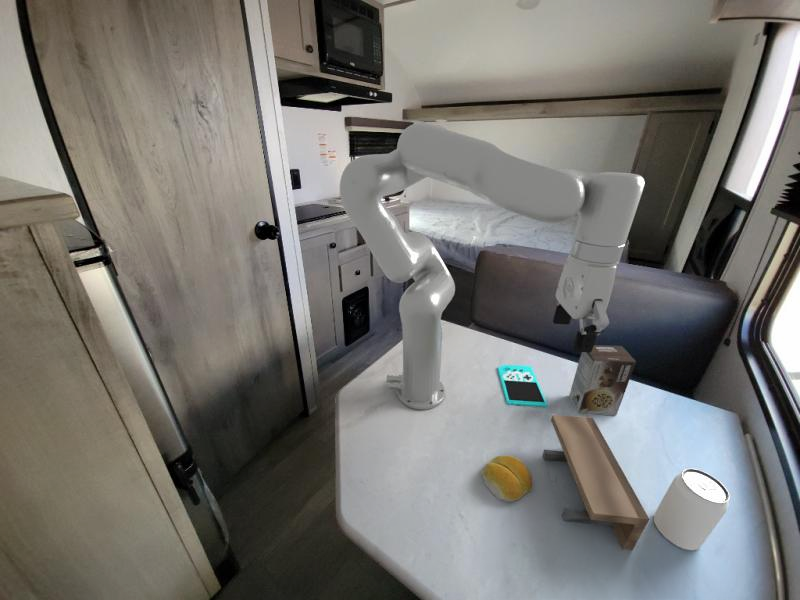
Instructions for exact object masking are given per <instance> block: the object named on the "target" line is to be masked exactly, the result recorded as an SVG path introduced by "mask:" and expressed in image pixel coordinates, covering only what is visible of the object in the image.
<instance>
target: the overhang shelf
mask: <svg viewBox="0 0 800 600" xmlns="http://www.w3.org/2000/svg"><path fill="white" fill-rule="evenodd" d="M550 421H551V424H552V427H553V429H554V431H555V434H556V436H557V439H558V442H559V443H560V446H561V449H562V450H554V449H543V452H542V455H541V457H542V460H543V461H547V462H556V463H557V462H558V463H567V464H568V466H569V469H570V472H571V474H572V477H573V479H574V481H575V484H576V486H577V489H578V491H579V495H580V496H581V499H582V501H583V503H584V506H585V508H586V509H578V508H577V509H576V508H566V507H564V508H563V510H562V513H561V517H562V521H563V522H571V523H578V524H579V523H580V524H589V525H597V526H606V527H611V528H612V529H613V532H614V534H615V536H616V538H617V540H618V543H619V545H620V548H621V550H626V551H627V550H628V551H633V550H634V548H635V546H636V544H637V542H638V541H639V540H640V537H641V536H642V533H643V532H644V530H645V528H646V527H647V525H648V523H649V522H650V517H649V515H648V514H647V512H646V510H645V508H644V507H643V505H642V503H641V501H640V499H639V498H638V496H637V494H636V491H634V489H633V487H632V486H631V484H630V482H629V480H628V478H627V476H626V475H625V473H624V471H623V469H622V468H621V467H622V466H621V465H620V464H619V462H618V460H617V459H616V458H617V457H616V456H615V455H614V453H613V451H612V450H611V447H610V446H609V444H608V442H607V440H606V439H605V437H604V435H603V433H602V432H601V429H600V427H599V426H598V425H597V423H596V421H595V418H594V417H587V416H585V417H584V416H576V415H575V416H574V415H561V414H552V416H551V418H550Z"/></svg>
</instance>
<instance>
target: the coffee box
mask: <svg viewBox="0 0 800 600" xmlns="http://www.w3.org/2000/svg"><path fill="white" fill-rule="evenodd" d="M636 363H637V361H636V360H635V359H634V358H633V357H632V355H631V354H630V353H629V352H628V351H627V350H626V349H625V347H623V346H622V345H602V344H601V345H598V344H596V345H595V344H594V346H593V349H592V351H591V352H580V356H579V360H578V364H577V367H576V371H575V373H574V374H575V375H574V378H573V380H572V385H571V388H570V391H569V399H570V400H571V402H572V404H573V407H574V408H575V410H576V412H577V413H579V414H589V415H590V414H591V415H606V416H608V415H609V416H617V415H618V412H619V409H620V406H621V404H622V401H623V398H624V396H625V392H626V390H627V387H628V385H629V382H630V381H631V377H632V374H633V371H634V369H635V365H636Z"/></svg>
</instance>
